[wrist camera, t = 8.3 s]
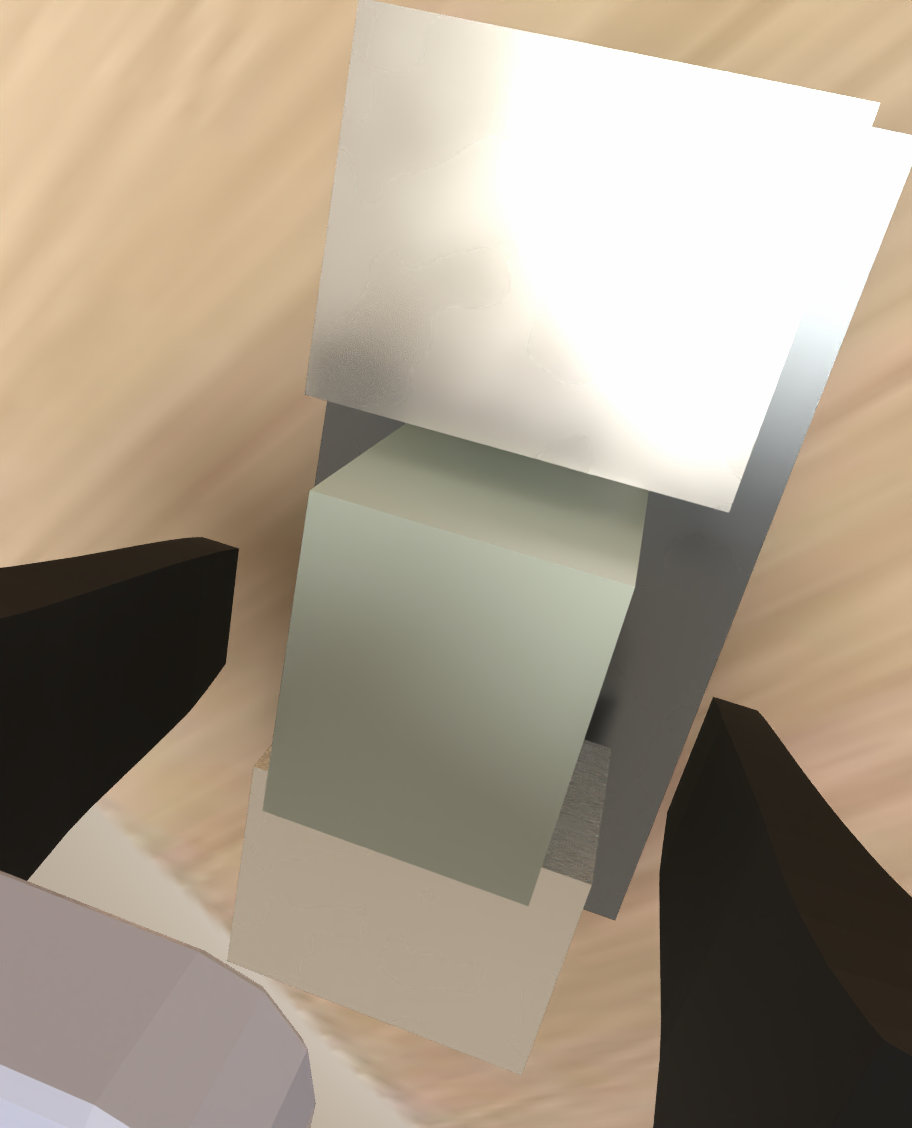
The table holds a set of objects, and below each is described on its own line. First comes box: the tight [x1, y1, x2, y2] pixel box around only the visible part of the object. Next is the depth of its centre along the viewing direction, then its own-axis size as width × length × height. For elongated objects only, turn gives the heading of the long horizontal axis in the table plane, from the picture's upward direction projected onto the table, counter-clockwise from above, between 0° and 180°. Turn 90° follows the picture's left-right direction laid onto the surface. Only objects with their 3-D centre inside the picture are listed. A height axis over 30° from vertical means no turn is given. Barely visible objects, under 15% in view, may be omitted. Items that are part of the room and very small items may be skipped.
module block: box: [262, 423, 649, 906], centre depth 14 cm, size 5×4×6 cm
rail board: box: [227, 0, 912, 1076], centre depth 16 cm, size 17×9×6 cm, turn 167°
